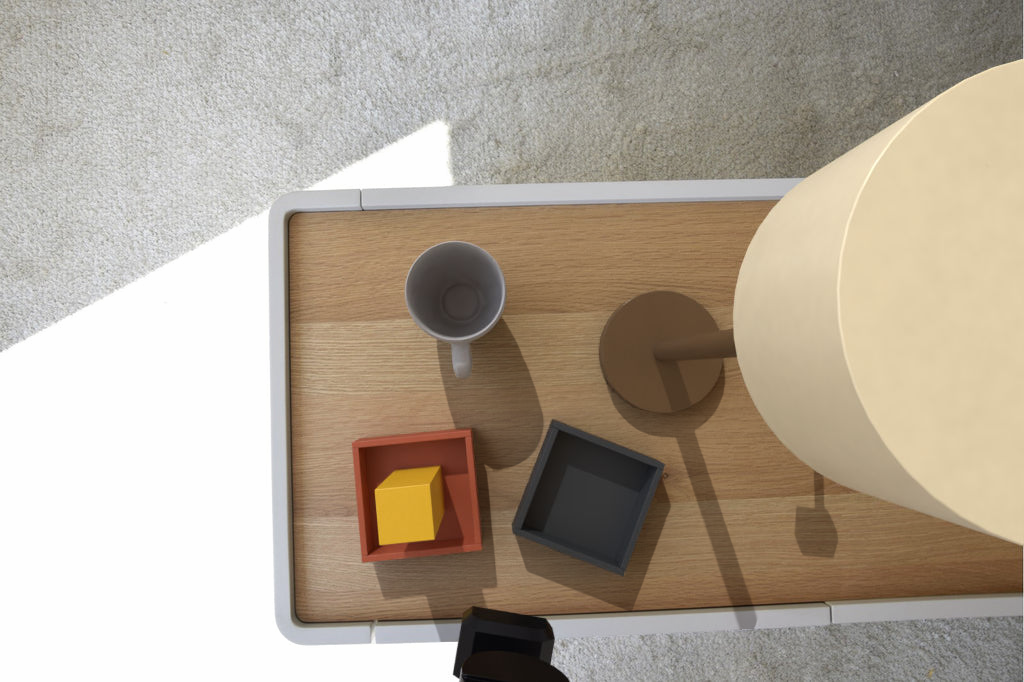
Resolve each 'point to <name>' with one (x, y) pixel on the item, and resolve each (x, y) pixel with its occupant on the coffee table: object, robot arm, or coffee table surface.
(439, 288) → the mug
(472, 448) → the bin left
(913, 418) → the tall lamp
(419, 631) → the coffee table surface
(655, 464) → the bin right
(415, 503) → the yellow box
